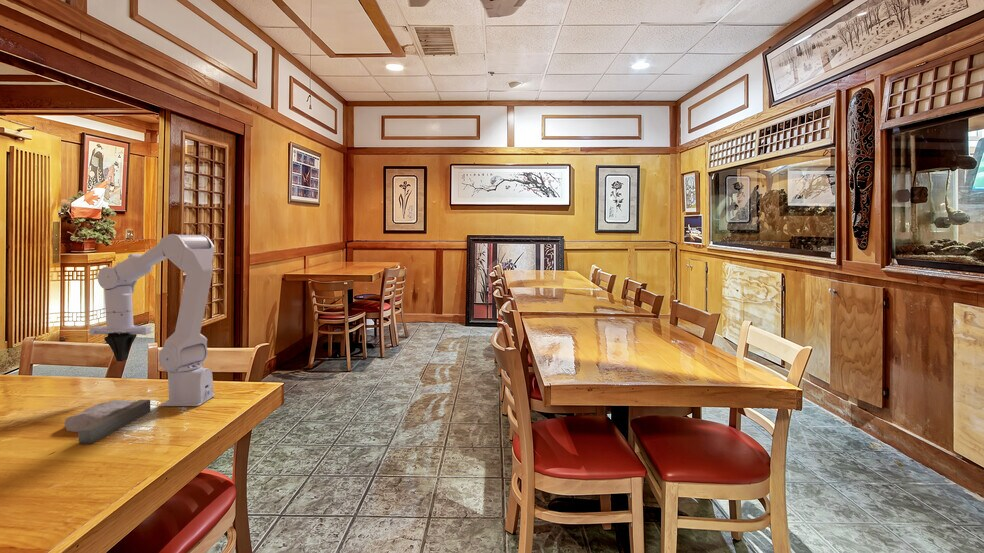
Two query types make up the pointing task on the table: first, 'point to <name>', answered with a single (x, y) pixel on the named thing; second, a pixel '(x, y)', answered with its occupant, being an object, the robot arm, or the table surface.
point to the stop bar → (113, 422)
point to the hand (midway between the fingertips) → (122, 360)
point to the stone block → (94, 414)
